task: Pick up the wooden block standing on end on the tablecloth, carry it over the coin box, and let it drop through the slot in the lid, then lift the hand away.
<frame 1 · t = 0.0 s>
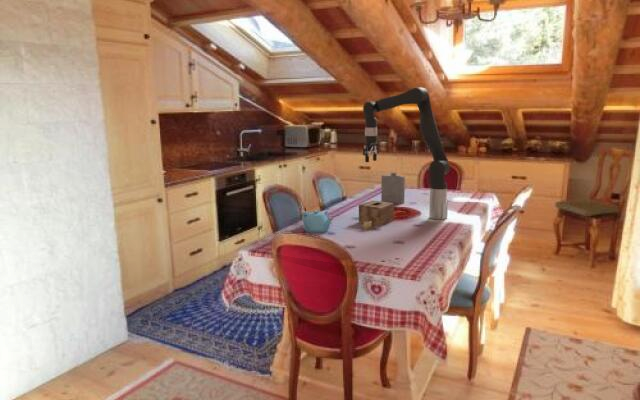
hand: (371, 161, 295), 29 cm above the table, tool pointing down, fingers open, 8 cm apart
coin box: (376, 221, 268), on the table
hip flask: (392, 202, 316), on the table
wooden block: (367, 228, 254), on the table
teapot: (316, 230, 252), on the table
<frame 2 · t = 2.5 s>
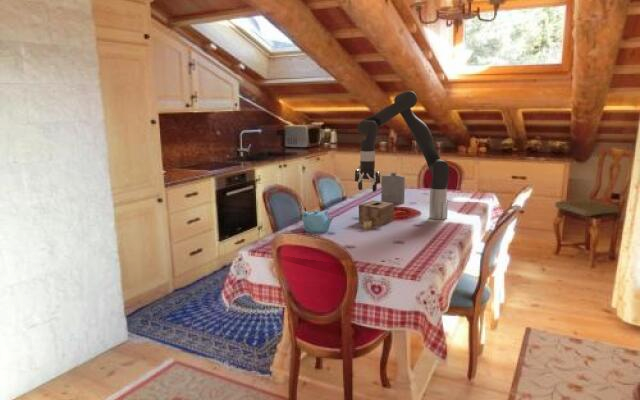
hand: (367, 190, 250), 20 cm above the table, tool pointing down, fingers open, 8 cm apart
nothing on the table moved.
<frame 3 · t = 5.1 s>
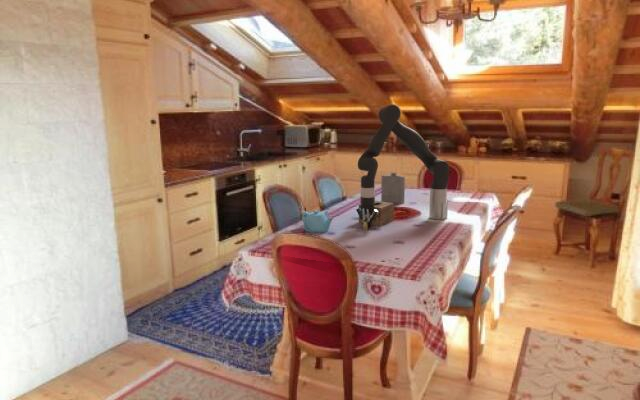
hand: (367, 227, 254), 1 cm above the table, tool pointing down, fingers closed on wooden block
wooden block: (367, 228, 254), on the table, touching gripper
everything else where it was.
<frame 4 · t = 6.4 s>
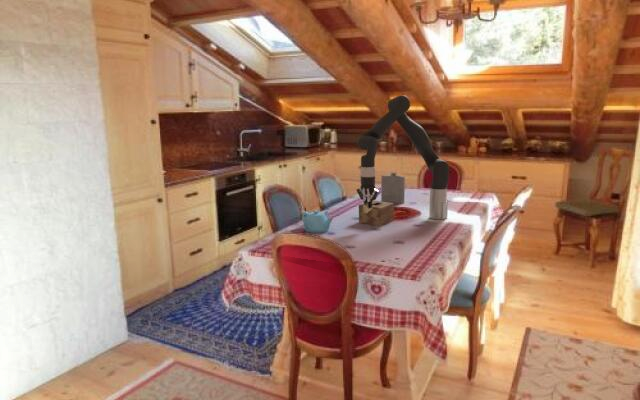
hand: (368, 207, 251), 11 cm above the table, tool pointing down, fingers closed on wooden block
wooden block: (367, 210, 251), point 10 cm above the table, tilted 13°, touching gripper
everything else where it was.
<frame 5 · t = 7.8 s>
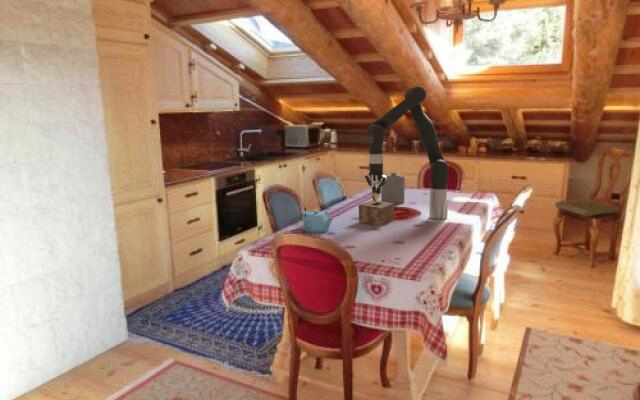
hand: (376, 193, 261), 16 cm above the table, tool pointing down, fingers closed on wooden block
wooden block: (376, 198, 262), point 14 cm above the table, tilted 31°, touching gripper
everything else where it was.
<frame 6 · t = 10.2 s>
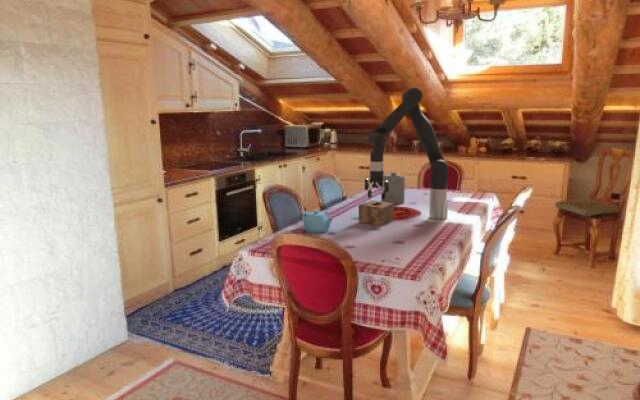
hand: (376, 198, 265), 13 cm above the table, tool pointing down, fingers open, 8 cm apart
wooden block: (379, 216, 270), point 2 cm above the table, tilted 90°
everything else where it was.
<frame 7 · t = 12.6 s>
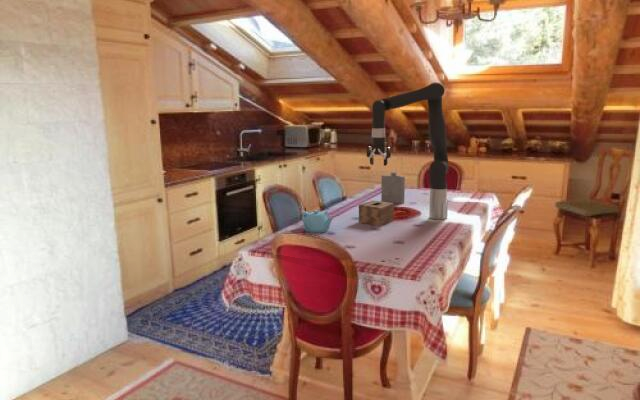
hand: (378, 165, 271), 30 cm above the table, tool pointing down, fingers open, 8 cm apart
nothing on the table moved.
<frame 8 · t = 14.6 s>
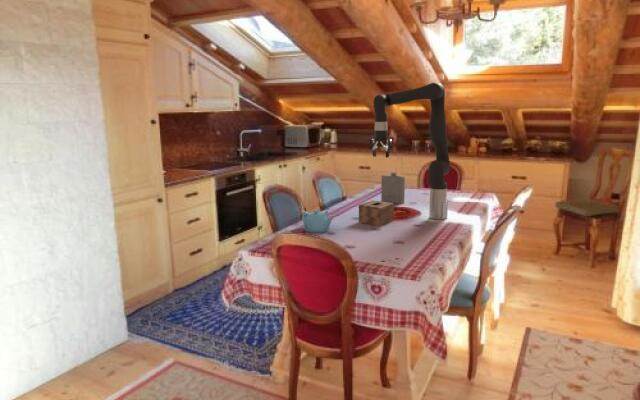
hand: (380, 157, 284), 33 cm above the table, tool pointing down, fingers open, 8 cm apart
nothing on the table moved.
at the end: wooden block inside the target area on the coin box (3.5 cm from its centre), point 2.4 cm above the coin box's base; the gripper is holding nothing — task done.
